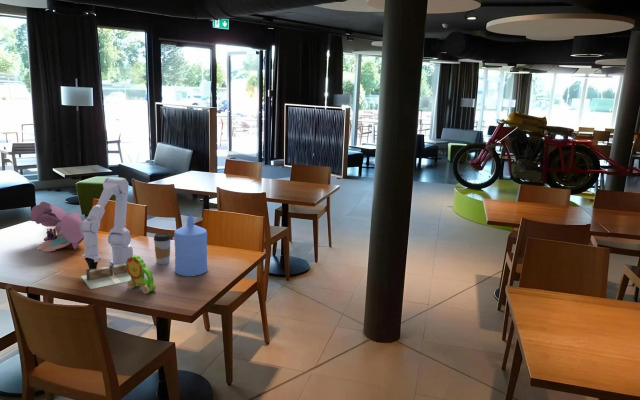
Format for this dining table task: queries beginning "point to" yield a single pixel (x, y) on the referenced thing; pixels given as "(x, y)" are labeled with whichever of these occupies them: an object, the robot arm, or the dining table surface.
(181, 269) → the water jug
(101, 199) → the robot arm
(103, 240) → the dining table surface
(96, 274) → the hinged fence section
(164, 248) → the coffee cup
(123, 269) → the fixed fence section
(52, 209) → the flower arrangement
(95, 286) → the card
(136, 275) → the toy lion
